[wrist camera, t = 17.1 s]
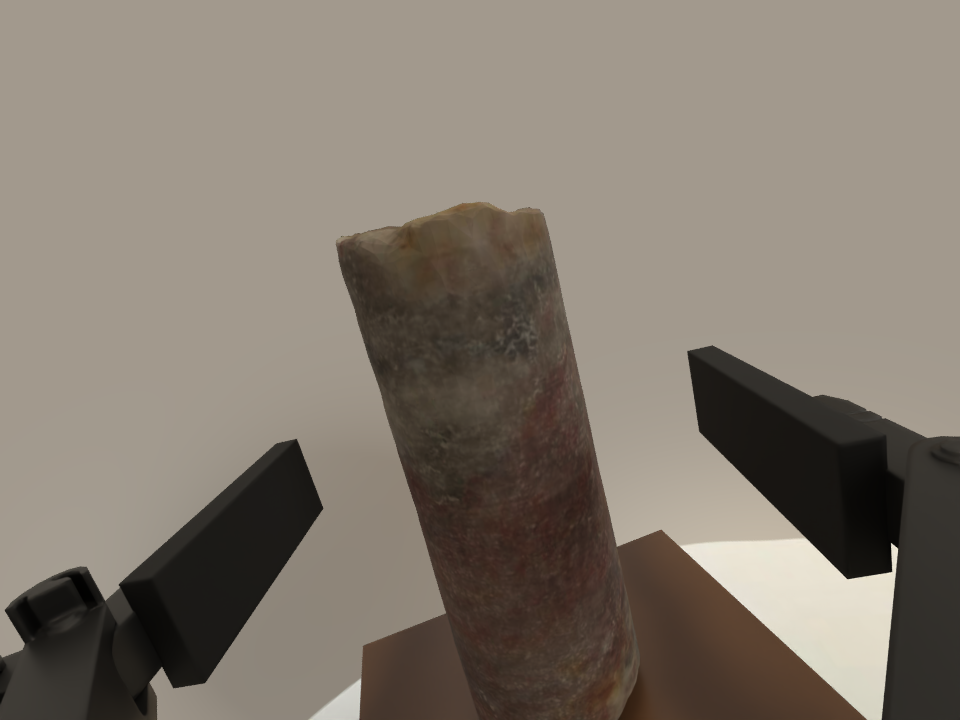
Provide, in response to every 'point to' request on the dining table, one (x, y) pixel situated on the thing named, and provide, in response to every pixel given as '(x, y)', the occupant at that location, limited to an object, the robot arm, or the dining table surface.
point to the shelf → (662, 646)
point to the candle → (498, 456)
